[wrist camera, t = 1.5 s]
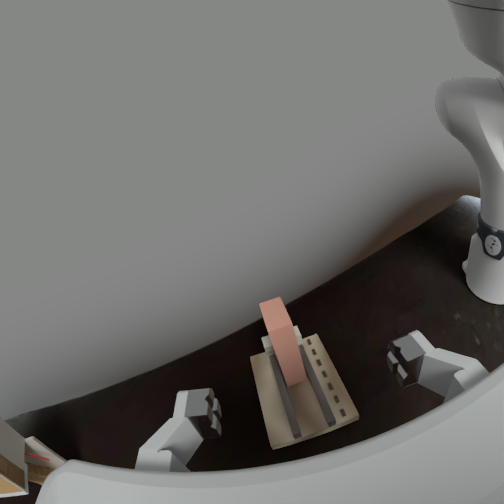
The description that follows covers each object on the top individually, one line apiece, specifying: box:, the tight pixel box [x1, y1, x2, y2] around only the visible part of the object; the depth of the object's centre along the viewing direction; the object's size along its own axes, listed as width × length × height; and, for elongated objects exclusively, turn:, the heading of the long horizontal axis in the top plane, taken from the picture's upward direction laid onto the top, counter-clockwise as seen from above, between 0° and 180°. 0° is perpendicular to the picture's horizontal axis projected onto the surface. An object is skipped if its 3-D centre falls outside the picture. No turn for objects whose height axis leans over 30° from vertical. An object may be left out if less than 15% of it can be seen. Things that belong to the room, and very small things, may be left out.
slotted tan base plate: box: [250, 326, 359, 450], centre depth 36 cm, size 12×18×5 cm
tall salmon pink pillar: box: [259, 297, 307, 387], centre depth 36 cm, size 3×6×12 cm, turn 9°
